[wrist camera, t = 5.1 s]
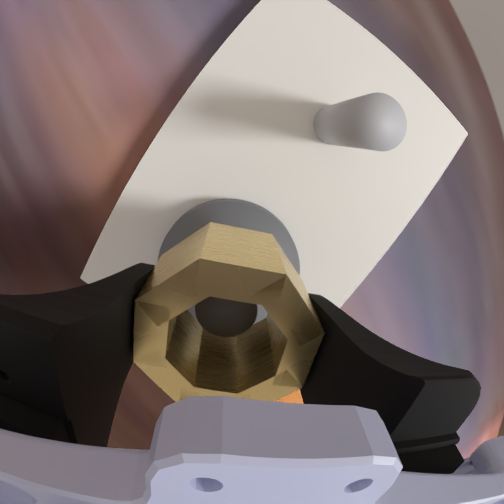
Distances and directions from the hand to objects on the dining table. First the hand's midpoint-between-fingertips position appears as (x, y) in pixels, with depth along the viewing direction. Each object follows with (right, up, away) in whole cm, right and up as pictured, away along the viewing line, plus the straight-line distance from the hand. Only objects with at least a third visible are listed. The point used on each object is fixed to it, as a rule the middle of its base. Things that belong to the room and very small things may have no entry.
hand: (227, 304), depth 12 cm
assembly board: (+2, +5, +3) cm, 6 cm away
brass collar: (0, 0, +1) cm, 1 cm away
